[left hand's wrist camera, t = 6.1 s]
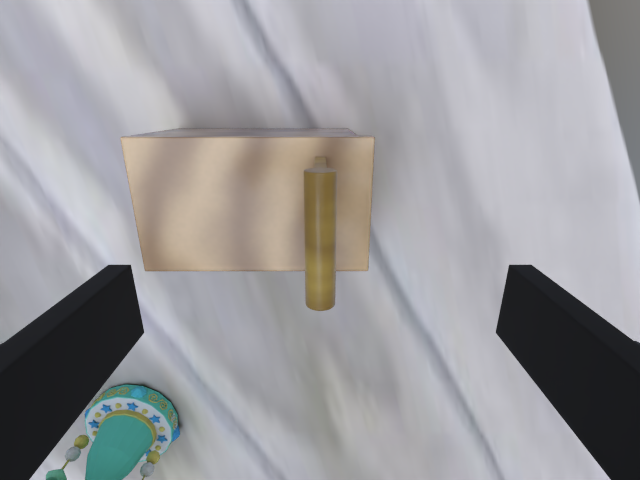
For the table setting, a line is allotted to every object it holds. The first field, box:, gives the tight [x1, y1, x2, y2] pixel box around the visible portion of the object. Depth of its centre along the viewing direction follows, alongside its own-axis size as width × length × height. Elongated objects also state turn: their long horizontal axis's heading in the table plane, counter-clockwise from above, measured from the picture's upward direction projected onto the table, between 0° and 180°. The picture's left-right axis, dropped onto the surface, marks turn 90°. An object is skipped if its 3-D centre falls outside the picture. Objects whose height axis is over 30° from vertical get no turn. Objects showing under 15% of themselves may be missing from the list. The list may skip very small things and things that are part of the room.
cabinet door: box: [120, 136, 375, 311], centre depth 21 cm, size 16×9×8 cm, turn 90°
